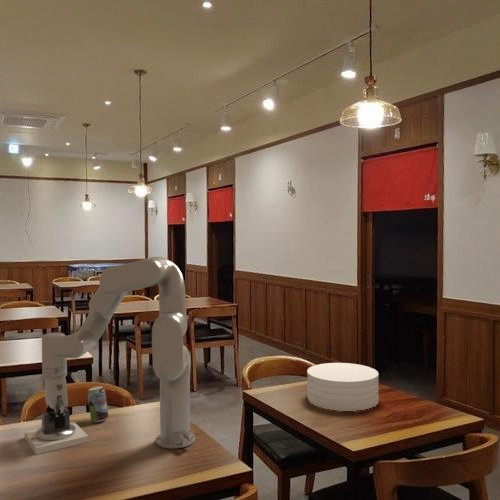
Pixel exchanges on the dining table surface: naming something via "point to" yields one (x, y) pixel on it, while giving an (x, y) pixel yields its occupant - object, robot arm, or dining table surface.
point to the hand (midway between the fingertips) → (55, 423)
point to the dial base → (47, 446)
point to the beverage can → (97, 404)
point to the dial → (50, 432)
